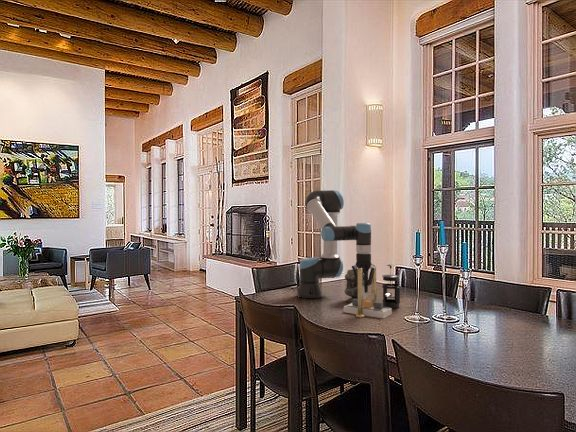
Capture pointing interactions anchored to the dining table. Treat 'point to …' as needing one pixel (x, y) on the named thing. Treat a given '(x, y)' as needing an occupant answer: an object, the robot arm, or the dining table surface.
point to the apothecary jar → (351, 286)
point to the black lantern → (390, 302)
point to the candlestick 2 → (374, 286)
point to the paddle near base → (355, 302)
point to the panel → (369, 311)
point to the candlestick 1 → (360, 294)
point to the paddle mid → (367, 303)
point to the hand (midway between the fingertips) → (363, 298)
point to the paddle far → (378, 305)
